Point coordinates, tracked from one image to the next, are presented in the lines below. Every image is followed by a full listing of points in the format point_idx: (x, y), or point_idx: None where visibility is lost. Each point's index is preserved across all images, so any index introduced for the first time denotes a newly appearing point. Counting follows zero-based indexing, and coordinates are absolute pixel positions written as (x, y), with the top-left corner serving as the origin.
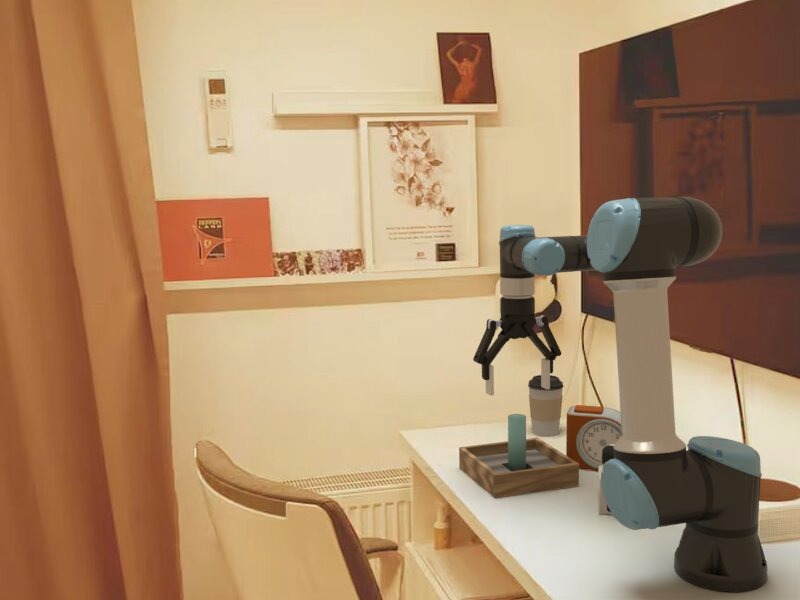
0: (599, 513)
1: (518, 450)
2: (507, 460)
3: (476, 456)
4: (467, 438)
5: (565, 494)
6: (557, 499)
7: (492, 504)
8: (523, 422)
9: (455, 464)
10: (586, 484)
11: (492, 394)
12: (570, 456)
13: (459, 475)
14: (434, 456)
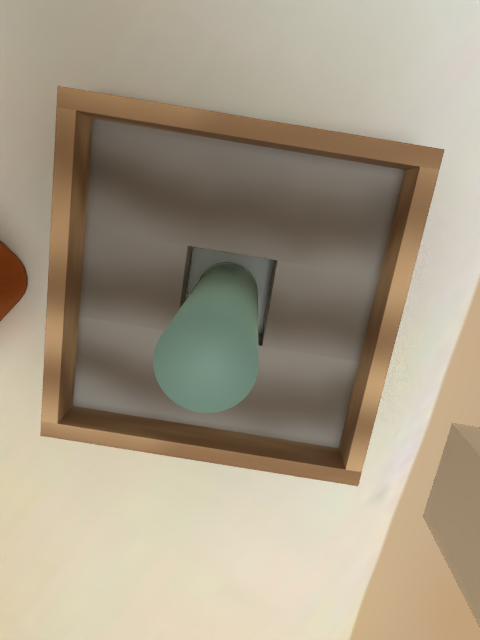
0: None
1: (236, 283)
2: None
3: (296, 442)
4: (171, 635)
5: (181, 58)
6: (234, 31)
7: (454, 112)
8: (197, 308)
9: None
10: None
11: (470, 427)
12: (2, 273)
13: None
14: (346, 561)
